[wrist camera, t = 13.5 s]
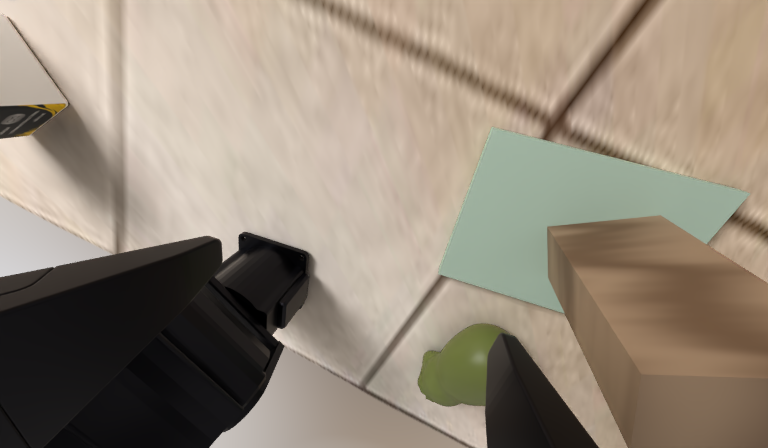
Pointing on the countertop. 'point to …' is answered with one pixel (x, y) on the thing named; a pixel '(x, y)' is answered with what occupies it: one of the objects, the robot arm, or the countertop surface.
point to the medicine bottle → (24, 87)
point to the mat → (562, 209)
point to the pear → (459, 368)
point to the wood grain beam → (666, 331)
